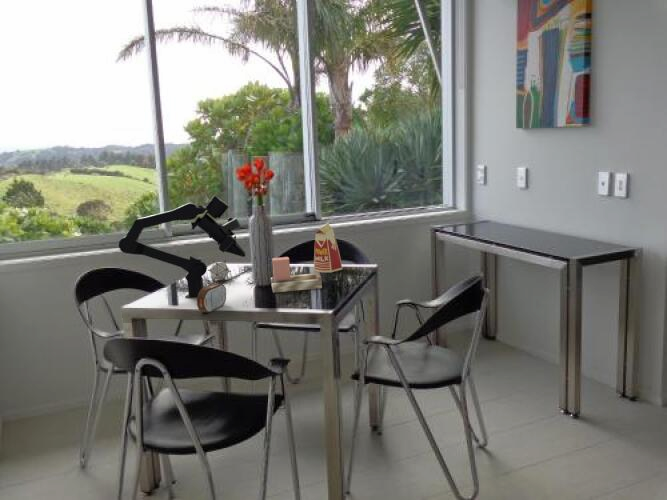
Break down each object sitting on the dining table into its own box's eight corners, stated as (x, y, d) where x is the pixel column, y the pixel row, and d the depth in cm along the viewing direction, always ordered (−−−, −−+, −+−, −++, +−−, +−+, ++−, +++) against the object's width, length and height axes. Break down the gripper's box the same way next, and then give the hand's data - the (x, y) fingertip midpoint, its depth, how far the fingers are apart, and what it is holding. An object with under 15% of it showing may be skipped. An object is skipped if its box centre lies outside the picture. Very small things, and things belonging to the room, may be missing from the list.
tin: (221, 303, 231) (218, 280, 229) (229, 304, 230) (226, 280, 228) (197, 315, 217) (194, 290, 216) (205, 316, 216) (203, 290, 215)
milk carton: (326, 267, 283) (323, 220, 279) (343, 269, 277) (340, 221, 274) (312, 271, 276) (309, 224, 272) (329, 273, 270) (326, 224, 267)
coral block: (275, 287, 246) (272, 260, 245) (274, 284, 251) (272, 258, 250) (291, 285, 247) (289, 259, 245) (290, 282, 252) (288, 256, 250)
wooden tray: (273, 292, 242) (272, 281, 242) (271, 285, 255) (270, 274, 255) (321, 287, 245) (321, 277, 244) (317, 280, 257) (317, 270, 257)
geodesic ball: (225, 288, 273) (237, 267, 274) (219, 285, 264) (232, 263, 265) (207, 277, 274) (219, 256, 275) (200, 274, 266) (213, 252, 267)
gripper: (225, 213, 233) (259, 242, 236) (226, 208, 251) (258, 235, 254) (204, 238, 233) (239, 266, 236) (207, 231, 251) (239, 257, 255)
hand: (244, 255), depth 245 cm, fingers open, 3 cm apart
